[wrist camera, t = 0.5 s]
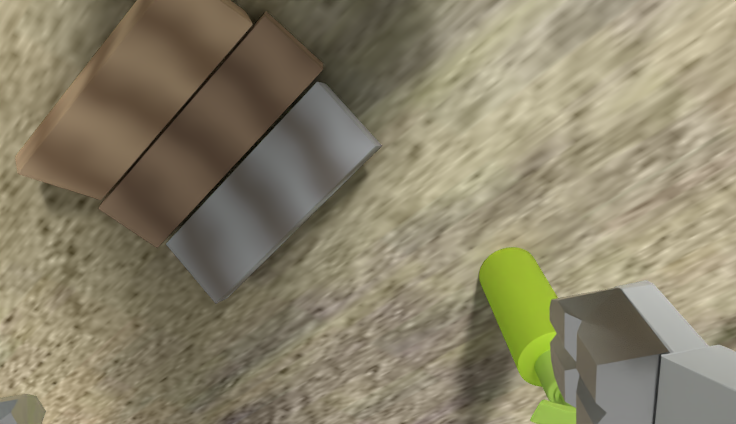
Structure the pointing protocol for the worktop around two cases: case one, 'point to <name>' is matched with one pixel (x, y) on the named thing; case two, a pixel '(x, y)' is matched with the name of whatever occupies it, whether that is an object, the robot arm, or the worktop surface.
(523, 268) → the soap dispenser
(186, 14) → the smoked oak plank
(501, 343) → the worktop surface
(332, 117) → the grey plank
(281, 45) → the walnut strip
